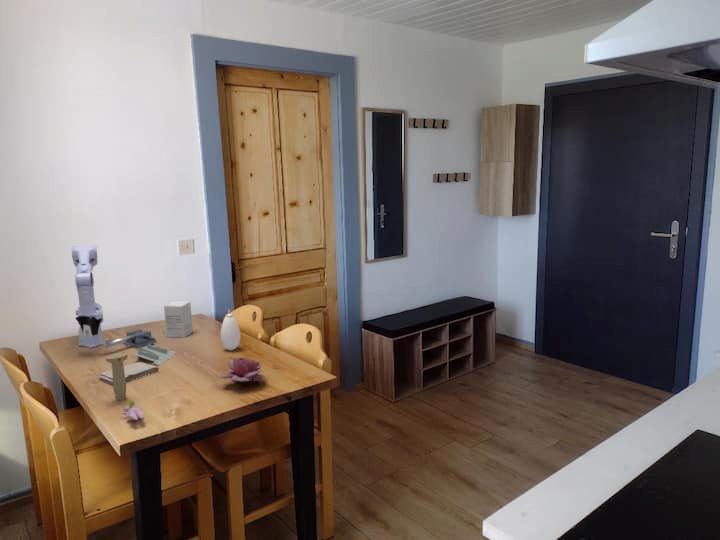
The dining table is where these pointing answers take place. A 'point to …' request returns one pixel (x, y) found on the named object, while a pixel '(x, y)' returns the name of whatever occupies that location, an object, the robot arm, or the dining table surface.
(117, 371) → the handle
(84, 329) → the notched block
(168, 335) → the supplement box
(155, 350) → the metal bracket
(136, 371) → the washcloth
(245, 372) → the flower
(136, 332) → the vise
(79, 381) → the dining table surface
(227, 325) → the sauce bottle
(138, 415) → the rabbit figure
